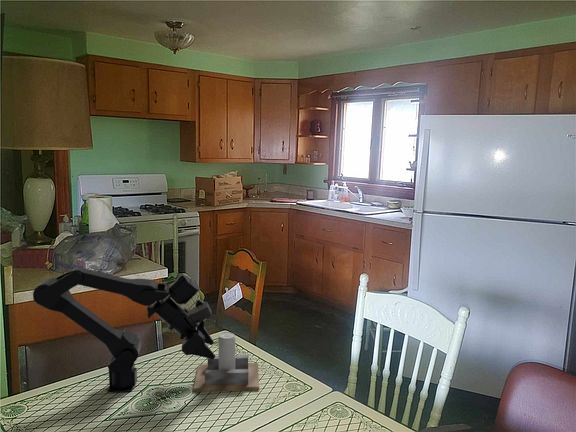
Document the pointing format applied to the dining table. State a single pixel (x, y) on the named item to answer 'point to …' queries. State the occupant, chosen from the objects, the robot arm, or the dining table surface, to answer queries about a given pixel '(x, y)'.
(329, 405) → the dining table surface
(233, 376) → the vise
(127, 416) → the dining table surface
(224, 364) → the beverage can
